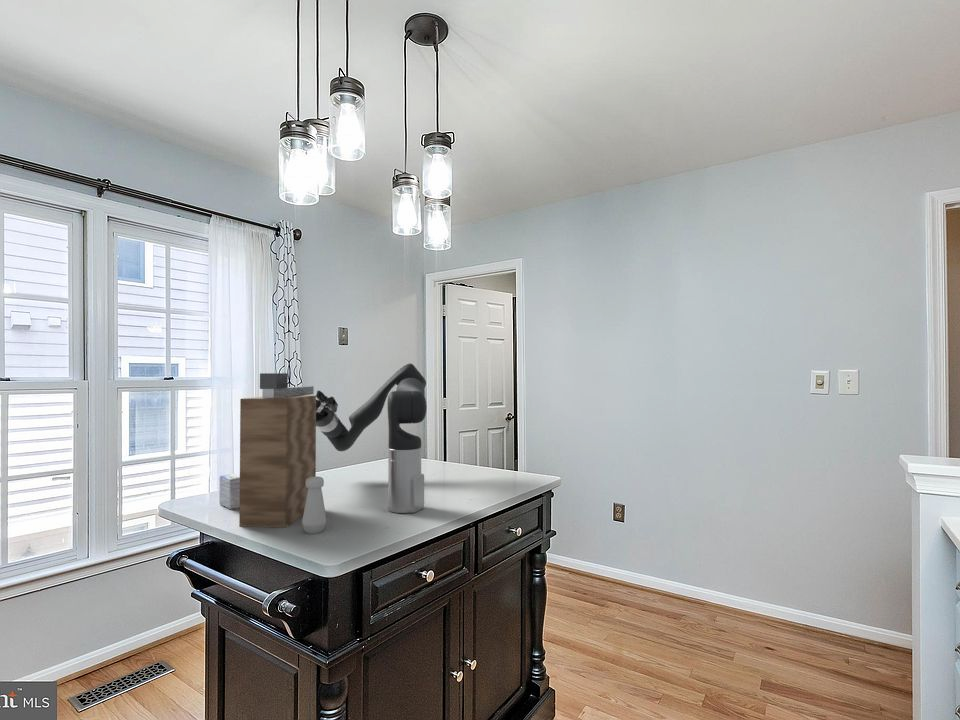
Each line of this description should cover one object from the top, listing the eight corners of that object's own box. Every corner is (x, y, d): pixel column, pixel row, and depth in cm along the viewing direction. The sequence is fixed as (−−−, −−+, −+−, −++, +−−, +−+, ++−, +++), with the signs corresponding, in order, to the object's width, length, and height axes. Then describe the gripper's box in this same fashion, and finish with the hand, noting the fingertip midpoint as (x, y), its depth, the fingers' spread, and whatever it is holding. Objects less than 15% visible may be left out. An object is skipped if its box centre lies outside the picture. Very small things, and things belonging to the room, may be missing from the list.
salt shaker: (312, 536, 120) (312, 480, 120) (296, 532, 123) (296, 478, 123) (331, 529, 125) (332, 476, 125) (316, 526, 128) (316, 474, 128)
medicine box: (245, 506, 147) (245, 476, 147) (229, 510, 143) (229, 479, 144) (234, 502, 152) (234, 473, 152) (218, 505, 149) (219, 475, 149)
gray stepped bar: (301, 394, 155) (301, 373, 155) (315, 394, 154) (316, 373, 154) (259, 398, 131) (259, 373, 131) (276, 398, 130) (276, 373, 131)
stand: (275, 507, 146) (275, 395, 147) (315, 508, 145) (315, 395, 146) (239, 526, 128) (240, 398, 129) (284, 527, 127) (285, 398, 128)
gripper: (304, 406, 168) (284, 382, 154) (346, 406, 166) (329, 382, 153) (299, 427, 164) (278, 404, 150) (342, 427, 162) (324, 404, 149)
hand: (304, 393), depth 151 cm, fingers open, 8 cm apart
